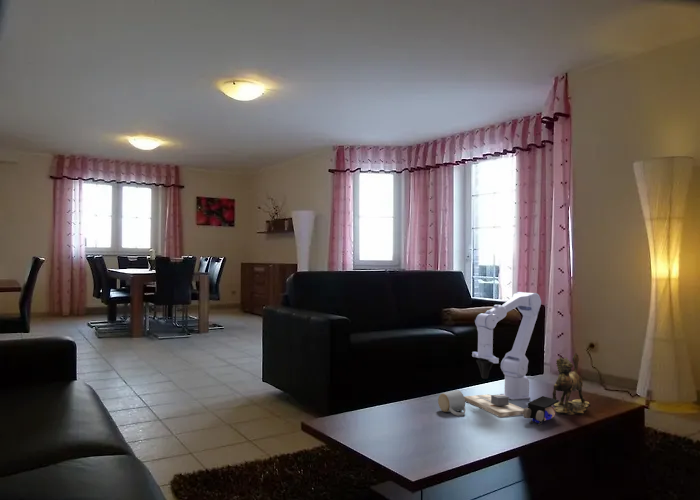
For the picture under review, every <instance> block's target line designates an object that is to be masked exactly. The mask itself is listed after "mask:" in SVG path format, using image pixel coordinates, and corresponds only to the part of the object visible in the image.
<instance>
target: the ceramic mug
mask: <svg viewBox="0 0 700 500" xmlns="http://www.w3.org/2000/svg"><path fill="white" fill-rule="evenodd" d="M437 403H438V407H439V409H440V410H441V411H442V412H444V413H451V414H452V415H454V416H456V417H463V416H464V415H465V413H466V401H465V398H464V394H463V392H462V391H460V390H458V389H456V390H451V391H446V392H443V393H440V395H439V396H438V399H437ZM462 411H463V412H462Z"/></svg>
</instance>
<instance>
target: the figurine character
mask: <svg viewBox="0 0 700 500" xmlns="http://www.w3.org/2000/svg"><path fill="white" fill-rule="evenodd" d="M558 402H560V400H559V399H553V397H552V398H551V397H548V396H540V397H538V398H536V399H533V400H532V401H529V402H527V407H525V408H523V409H524V411H523V415H522V416H523V418H524V419H532V420H531V421H529V424H532V425H533V423H534V422H535V423H537V426H538V427H539V426H540V425H542V424H543V423H544V422H545V421H549V420H551V419H552V420H553V418H555V416H556V410H555V409H554V408H555V407H554V406H553V405H554V404H556V403H558Z"/></svg>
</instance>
